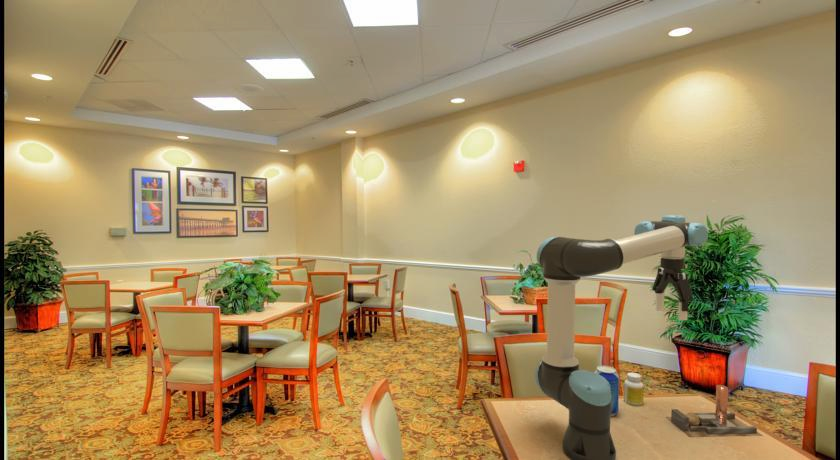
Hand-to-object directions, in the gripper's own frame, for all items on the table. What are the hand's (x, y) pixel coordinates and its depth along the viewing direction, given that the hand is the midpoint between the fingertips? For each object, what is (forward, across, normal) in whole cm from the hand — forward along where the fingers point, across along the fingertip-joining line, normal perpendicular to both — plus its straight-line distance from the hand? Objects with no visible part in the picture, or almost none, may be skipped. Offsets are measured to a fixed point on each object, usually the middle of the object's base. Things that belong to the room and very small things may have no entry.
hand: (670, 315), depth 156 cm
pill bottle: (+35, +2, +12) cm, 37 cm away
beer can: (+35, -3, +25) cm, 43 cm away
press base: (+35, -16, -5) cm, 39 cm away
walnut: (+34, -16, +2) cm, 37 cm away
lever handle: (+33, -16, -6) cm, 37 cm away
